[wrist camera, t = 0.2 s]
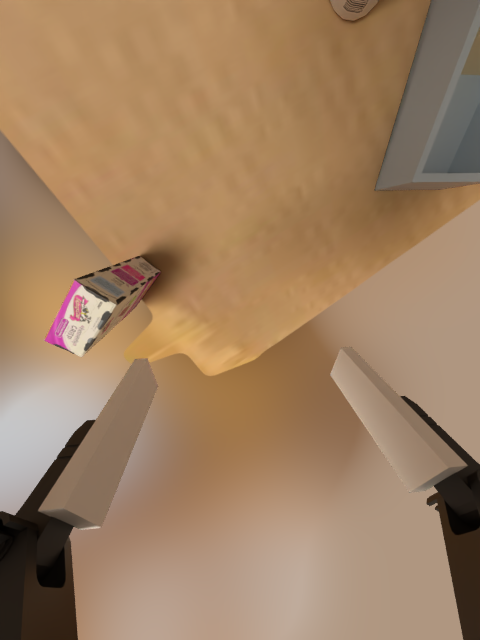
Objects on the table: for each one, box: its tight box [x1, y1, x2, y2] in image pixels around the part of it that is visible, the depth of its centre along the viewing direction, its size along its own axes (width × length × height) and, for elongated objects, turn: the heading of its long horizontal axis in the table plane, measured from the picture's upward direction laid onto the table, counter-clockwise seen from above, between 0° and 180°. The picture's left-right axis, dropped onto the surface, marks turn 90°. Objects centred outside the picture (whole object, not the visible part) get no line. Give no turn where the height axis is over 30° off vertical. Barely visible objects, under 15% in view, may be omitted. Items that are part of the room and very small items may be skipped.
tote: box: [374, 0, 480, 191], centre depth 23 cm, size 20×13×7 cm, turn 1°
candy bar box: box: [44, 256, 161, 357], centre depth 28 cm, size 11×5×16 cm, turn 137°
